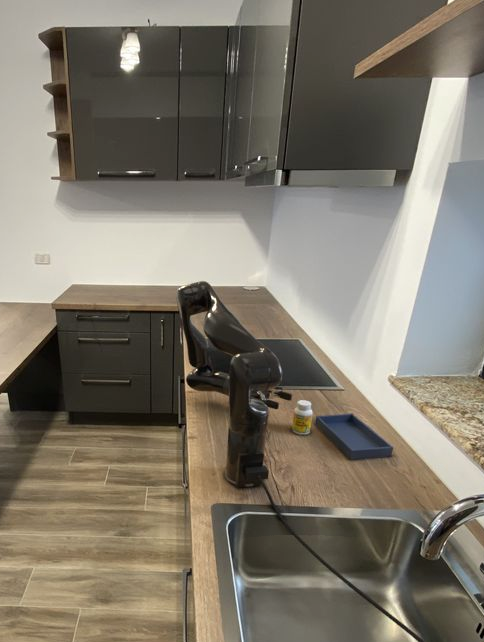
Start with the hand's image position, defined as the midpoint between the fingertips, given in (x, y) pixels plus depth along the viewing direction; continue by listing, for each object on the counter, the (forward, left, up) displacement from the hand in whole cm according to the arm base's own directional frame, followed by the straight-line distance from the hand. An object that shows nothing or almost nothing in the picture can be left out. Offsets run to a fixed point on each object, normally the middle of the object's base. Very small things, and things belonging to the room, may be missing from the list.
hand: (284, 401), depth 136 cm
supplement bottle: (-5, -4, -8) cm, 10 cm away
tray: (-12, -17, -8) cm, 22 cm away
